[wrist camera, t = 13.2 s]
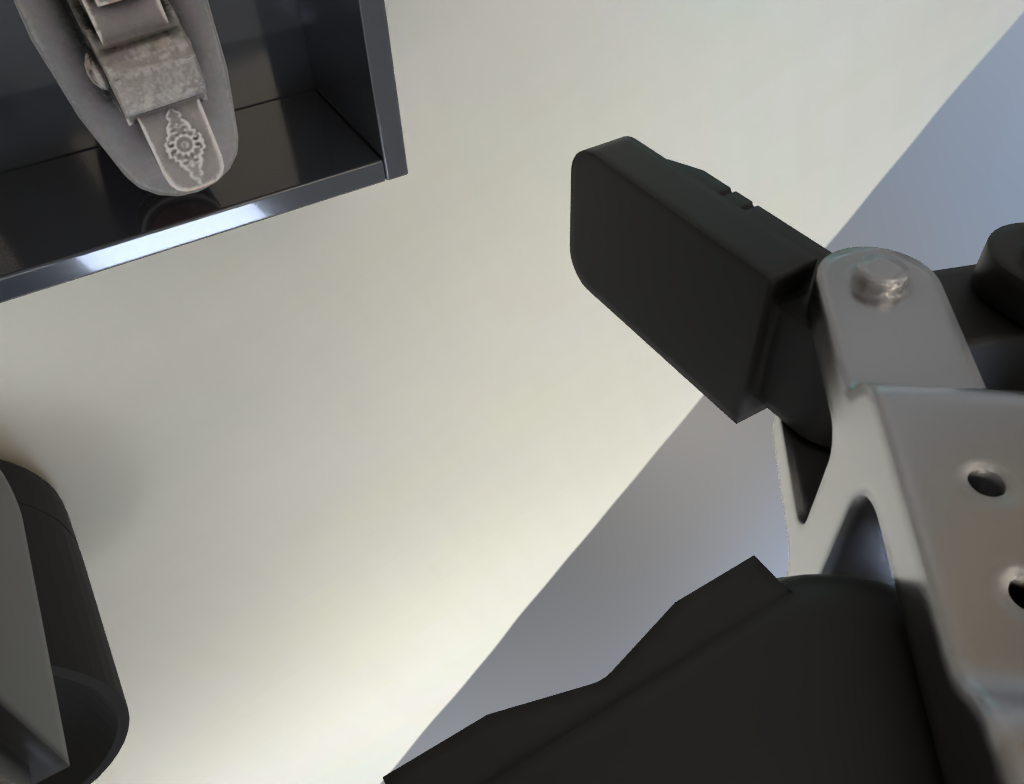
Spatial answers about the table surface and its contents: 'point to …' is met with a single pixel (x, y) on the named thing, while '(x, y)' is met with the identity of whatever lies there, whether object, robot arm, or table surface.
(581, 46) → the table surface
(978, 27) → the table surface
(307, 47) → the grey square tray
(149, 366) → the table surface
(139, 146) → the lighter
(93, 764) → the pen holder
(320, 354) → the table surface
